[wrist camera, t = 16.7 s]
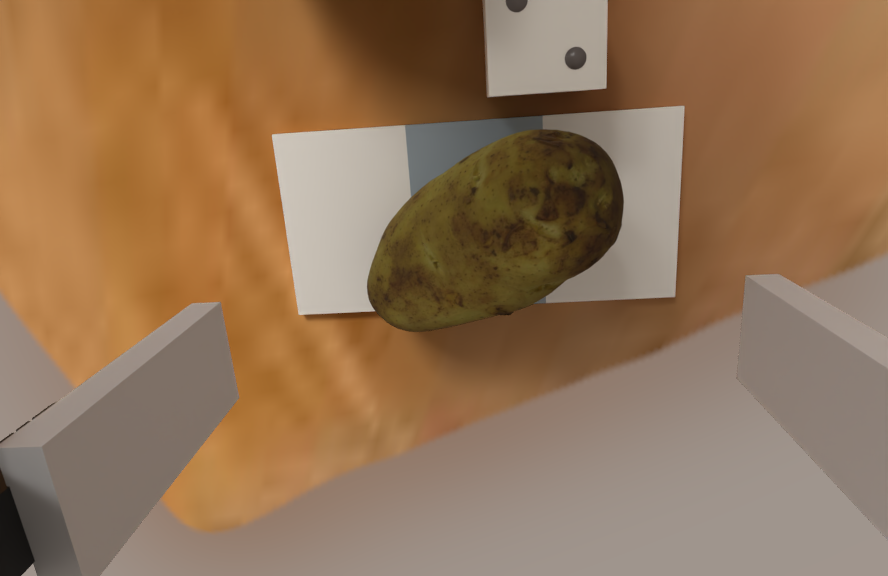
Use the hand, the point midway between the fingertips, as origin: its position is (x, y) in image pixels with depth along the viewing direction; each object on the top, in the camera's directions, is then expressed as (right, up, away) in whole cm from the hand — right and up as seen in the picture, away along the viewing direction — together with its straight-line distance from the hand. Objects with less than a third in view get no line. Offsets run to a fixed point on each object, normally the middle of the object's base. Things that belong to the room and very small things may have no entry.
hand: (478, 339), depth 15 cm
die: (+4, +14, +14) cm, 20 cm away
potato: (+1, +5, +17) cm, 18 cm away
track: (+1, +5, +17) cm, 18 cm away
